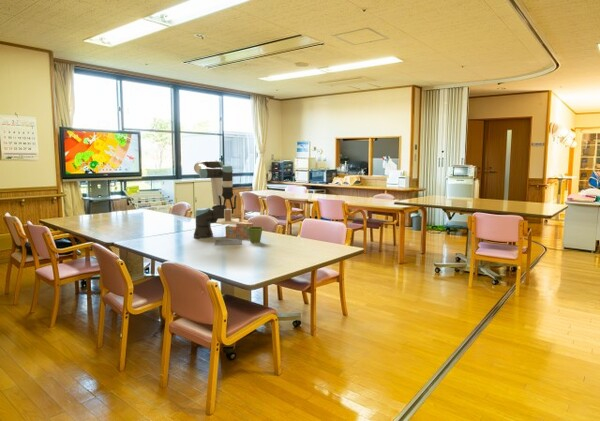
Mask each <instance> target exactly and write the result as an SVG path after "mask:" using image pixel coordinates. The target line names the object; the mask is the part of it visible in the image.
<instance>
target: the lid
mask: <svg viewBox="0 0 600 421" xmlns="http://www.w3.org/2000/svg"><path fill="white" fill-rule="evenodd" d="M239 222H240V218H233V217H232V218H231V208H228V209H225V219H218V220H217V222H216V223H215V224H236V223H239Z"/></svg>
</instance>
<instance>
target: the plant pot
mask: <svg viewBox="0 0 600 421" xmlns="http://www.w3.org/2000/svg"><path fill="white" fill-rule="evenodd" d="M263 229H264V227H262V226H253V227H248V231H249V235H250V238H249V240H250V243H252V244H254V243H255V244H257V243H261V240H262V235H263V234H262V232H263Z"/></svg>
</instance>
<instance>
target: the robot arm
mask: <svg viewBox="0 0 600 421" xmlns="http://www.w3.org/2000/svg"><path fill="white" fill-rule="evenodd" d="M193 171H194V172H195V173H196V174H198V175H199V178H200V179H210V181H211V182H210V183H211V192H212V193H211V195H212V201H213V202H212V203H213V205H212V206H211V208H210V207H207V206H206V207H199V208H197V209H195V212H194V214H195V215H194V216H195V229H194V232H193V238H194V239H207V238H213V237H214V233H213V230H212V226H211V225H212V224H216V222H217V220H218V219H225V209H229V208H228V207H227V205H226V202H227V200H229V204H230V209H231V219H232V218H233V216H232V215H233V214H234V210H235V209H237V206H236V205H237V203H236V202H237V197H238V195H237V194H236V195H235V194H234V190H233V189H234V188H233V186H234V184H233V183H234V181H233V180H234V178H233V174H234V173H233V171H234V170H233V166H232V165H224V162H223V161H222V160H217V159H215V160H208V159H207V160H200V161H198V162H196V163H195V164H194V166H193ZM232 198H233V201H232Z"/></svg>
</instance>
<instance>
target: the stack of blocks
mask: <svg viewBox="0 0 600 421" xmlns="http://www.w3.org/2000/svg"><path fill="white" fill-rule="evenodd" d="M248 227H254V222H248V221H246V222H243V221H242V222H241V221H239V223H235V225H231V224H229V225H226V226H225V227H224V228H225V230H224V231H225V238H237V239H239V238H240V239H241V238H242V239H250V235H249V231H248Z"/></svg>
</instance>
